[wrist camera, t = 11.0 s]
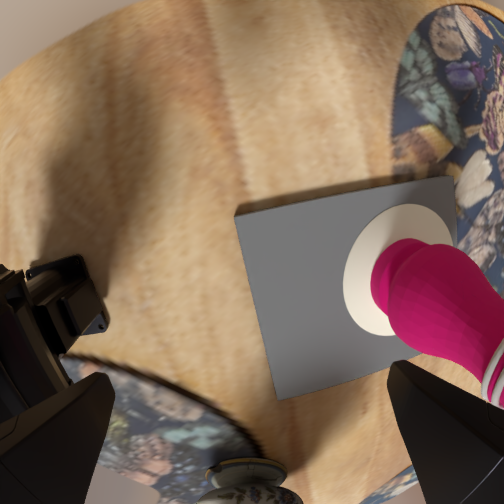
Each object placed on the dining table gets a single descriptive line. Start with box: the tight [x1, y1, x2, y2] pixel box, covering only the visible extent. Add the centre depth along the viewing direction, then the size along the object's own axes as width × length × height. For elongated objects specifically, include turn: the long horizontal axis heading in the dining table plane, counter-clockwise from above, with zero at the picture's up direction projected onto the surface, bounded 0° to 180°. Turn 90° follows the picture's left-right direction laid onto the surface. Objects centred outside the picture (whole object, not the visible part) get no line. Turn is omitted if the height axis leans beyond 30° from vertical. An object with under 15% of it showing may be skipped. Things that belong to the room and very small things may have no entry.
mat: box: [234, 175, 457, 401], centre depth 21 cm, size 18×16×1 cm
